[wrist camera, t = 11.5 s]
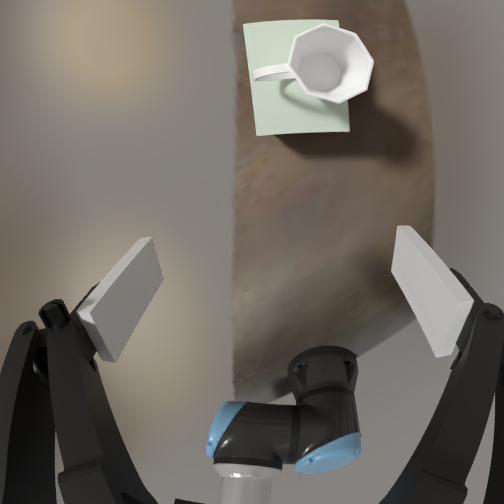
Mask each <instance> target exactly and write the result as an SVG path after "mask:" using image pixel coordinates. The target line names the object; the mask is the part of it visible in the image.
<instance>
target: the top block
mask: <svg viewBox="0 0 504 504" xmlns="http://www.w3.org/2000/svg"><path fill="white" fill-rule="evenodd" d="M323 23H324V24H328V25H331V26H334V27H338V28H339V23H338V20H283V21H268V22H257V23H248V24H243V28H244V36H245V43H246V51H247V59H248V67H249V75H250V83H251V91H252V100H253V108H254V117H255V125H256V134H257V136H262V135H274V134H289V133H309V132H350V127H349V110H348V100H346V101H344V102H342V103H340V104H338V103H335V102H332V101H329V100H326V99H322V98H319V97H315V96H312V95H308V94H306V93H305V92H304V90H303V89H302V87H301V86H300V84H299V83H298V81H297V80H296V78H294V79H282V80H269V81H254V77H253V71H255V70H256V69H259V68H262V67H266V66H271V65H277V64H284V63H288V61H289V56H290V52H291V48H292V44H293V40H294V36H297V35H299V34H301V33H303V32H305V31H307V30H309V29H311V28H314V27H316V26H318V25H320V24H323Z"/></svg>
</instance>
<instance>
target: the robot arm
mask: <svg viewBox="0 0 504 504" xmlns="http://www.w3.org/2000/svg"><path fill="white" fill-rule="evenodd" d="M391 272H392V274H393V275H394V277H395V279H396V281H397V282H398V284H399V286H400V288H401V289H402V291H403V293H404V295H405V297H406V299H407V300H408V302H409V304H410V306H411V308H412V310H413V312H414V314H415V315H416V317H417V319H418V321H419V323H420V325H421V327H422V329H423V331H424V333H425V335H426V337H427V339H428V342H429V344H430V346H431V348H432V350H433V352H434V354H435V357H442V356H446V355H451V353H452V351H453V349H454V347H455V345H457V346H458V348H459V350H460V351H459V353H458V355H457V357H456V358H455V360H454V362H453V364H452V366H451V368H450V369H452V371H451V374H450V377H449V379H448V382H447V384H446V387H445V389H444V392H443V395H442V397H441V399H440V401H439V404H438V406H437V408H436V410H435V413H434V415H433V417H432V419H431V421H430V423H429V425H428V427H427V429H426V431H425V433H424V435H423V437H422V439H421V441H420V442H419V444H418V446H417V448H416V450H415V452H414V453H413V455H412V457H411V458H410V460H409V462H408V463H407V465H406V467H405V468H404V470H403V472H402V473H401V475H400V476H399V478H398V479H397V481H396V482H395V484H394V485H393V487H392V488H391V490H390V491H389V492H388V494H387V495H386V496H385V498H384V499H383V500H382V501H381V502H380V503H379V504H463V503H464V500H465V498H466V495H467V487H466V486H465V481H466V478H467V476H468V473H469V471H470V469H471V466H472V464H473V461H474V459H475V456H476V453H477V451H478V448H479V445H480V442H481V440H482V436H483V433H484V430H485V427H486V424H487V420H488V417H489V413H490V410H491V405H492V402H493V397H494V393H495V427H494V441H493V451H492V459H491V467H490V473H489V478H488V484H487V489H486V494H485V498H484V502H483V504H504V313H503V311H502V310H501V309H500V308H499V307H498V306H496V305H494V304H490V303H483V301H482V300H481V298H480V297H479V296H478V295H477V293H476V292H475V291H474V290H473V288H472V287H470V285H469V283H468V282H466V280H465V279H464V278H463V276H462V275H461V274H460V273H459V272H457V271H456V270H454V269H453V268H450V269H449V268H448V267H447V266H446V265H445V264H444V262H443V261H442V260H441V259H440V258H439V257H438V256H437V254H436V253H435V252H434V251H433V250H432V249H431V248H430V247H429V245H428V244H427V243H426V242H425V241H424V240H423V239H422V238H421V237H420V236H419V235H418V234H417V233H416V231H415V230H414V229H413V228H412V227H411V226H397V234H396V241H395V249H394V256H393V262H392V268H391ZM163 280H164V279H163V276H162V273H161V268H160V265H159V261H158V257H157V253H156V250H155V246H154V242H153V238H152V237H147V238H140V239H139V240H138V241H137V242H136V243H135V244H134V245H133V246H132V248H131V249H130V250H129V251H128V252H127V253H126V254H125V255H124V256H123V257H122V258H121V259H120V260H119V262H118V263H117V264H116V265H115V266H114V267H113V268H112V269H111V271H110V272H109V273H108V274H107V275H106V276H105V277H104V278H103V280H102V281H101V282H99V283H98V284H97V285H95V286H94V287H92V288H91V290H90V291H89V292H88V293H87V295H86V296H85V297H84V298H83V300H81V302H80V303H79V304H78V305H77V306H76V308H75V309H74V310H73V311H72V312H71V314H69V312H68V310H67V308H66V306H65V304H64V302H63V300H61V299H55V300H52V301H50V302H48V303H46V304H45V305H44V306H42V308H41V309H40V310H39V316H40V318H41V319H42V321H43V323H44V325H45V327H46V328H45V329H38V327H37V325H36V323H35V322H34V321H27V322H24V323H23V324H21V325H20V326H19V327H18V328H17V330H16V332H15V333H14V336H13V339H12V341H11V344H10V347H9V349H8V352H7V355H6V358H5V361H4V364H3V366H2V370H1V373H0V504H57V500H56V487H55V428H56V433H57V438H58V443H59V448H60V452H61V456H62V460H63V464H64V471H63V472H61V473H59V474H58V484H59V487H60V491H61V494H62V497H63V500H64V502H65V504H158V503H157V501H156V500H155V499H154V497H153V496H152V495H151V494H150V493H149V492H148V491H147V489H146V488H145V486H144V484H143V483H142V481H141V479H140V477H139V475H138V473H137V471H136V469H135V467H134V464H133V462H132V460H131V458H130V456H129V453H128V451H127V449H126V447H125V444H124V442H123V440H122V437H121V435H120V432H119V430H118V427H117V425H116V422H115V419H114V416H113V414H112V411H111V408H110V405H109V402H108V400H107V396H106V393H105V390H104V387H103V384H102V380H101V377H100V374H99V370H98V366H97V363H96V361H95V359H94V358H93V356H94V355H95V353H96V351H97V352H98V354H99V356H100V357H101V359H102V360H103V361H108V362H114V363H116V362H117V360H118V358H119V356H120V354H121V352H122V350H123V349H124V346H125V345H126V343H127V341H128V340H129V338H130V336H131V334H132V332H133V331H134V329H135V327H136V325H137V324H138V322H139V320H140V318H141V317H142V315H143V313H144V312H145V310H146V308H147V306H148V305H149V303H150V301H151V300H152V298H153V296H154V295H155V293H156V291H157V290H158V288H159V286H160V285H161V283H162V281H163ZM33 365H34V366H35V368H36V371H35V372H34V369H33ZM357 375H358V366H357V360H356V358H355V356H354V355H353V354H352V353H351V352H350V351H348V350H346V349H343V348H340V347H333V346H324V347H317V348H313V349H310V350H307V351H304V352H302V353H300V354H299V355H297V356H296V357H295V358H294V359H293V360H292V361H291V362H290V364H289V366H288V376H287V378H288V383H289V385H290V387H291V390H292V392H293V394H294V397H295V400H296V405H276V404H263V403H252V402H249V401H245V402H236V401H228V402H225V403H223V404H222V405H221V406H220V407H219V409H218V410H217V412H216V415H215V417H214V419H213V422H212V425H211V428H210V432H209V436H208V443H207V448H206V453H207V455H208V456H209V457H210V458H212V459H214V464H213V467H214V468H215V470H216V471H217V472H218V473H219V475H220V477H221V479H220V485H219V491H218V498H217V504H270V499H271V488H272V481H273V480H274V479H275V478H276V477H277V476H278V475H280V474H281V473H282V464H295V465H294V467H295V469H296V471H297V472H299V473H305V474H315V473H322V472H327V471H331V470H335V469H338V468H341V467H343V466H345V465H347V464H349V463H351V462H352V461H354V460H355V459H356V458H357V457H358V456H359V454H360V452H361V442H360V438H361V433H360V429H359V422H358V416H357V410H356V403H355V397H354V390H355V385H356V380H357ZM174 504H203V503H197V502H191V501H185V500H180V499H175V502H174Z"/></svg>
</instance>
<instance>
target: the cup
mask: <svg viewBox="0 0 504 504" xmlns="http://www.w3.org/2000/svg"><path fill="white" fill-rule="evenodd" d="M373 64H374V61H373V59H372V57H371V56H370V54H369V52H368V51H367V49H366V48H365V46H364V45H363V43H362V42H361V40H360V39H359V37H358V36H357V34H356V33H353V32H350V31H347V30H344V29H341V28H338V27H334V26H331V25H328V24H324V23H323V24H320V25H318V26H316V27H314V28H311V29H309V30H307V31H305V32H303V33H301V34H299V35H297V36H294V40H293V44H292V48H291V52H290V56H289V61H288V63H284V64H277V65H271V66H266V67H262V68H259V69H256V70H255V71H253V77H254V81H269V80H282V79H294V78H296V80H297V81H298V83H299V84H300V86H301V87H302V89H303V90H304V92H305V93H306V94H308V95H312V96H315V97H319V98H322V99H326V100H329V101H332V102H335V103H338V104H340V103H342V102H344V101H346V100H348V99H350V98H352V97H354V96H356V95H358V94H360V93H362V92H364V91H366V90H367V89H368V85H369V80H370V76H371V72H372V68H373Z"/></svg>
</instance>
